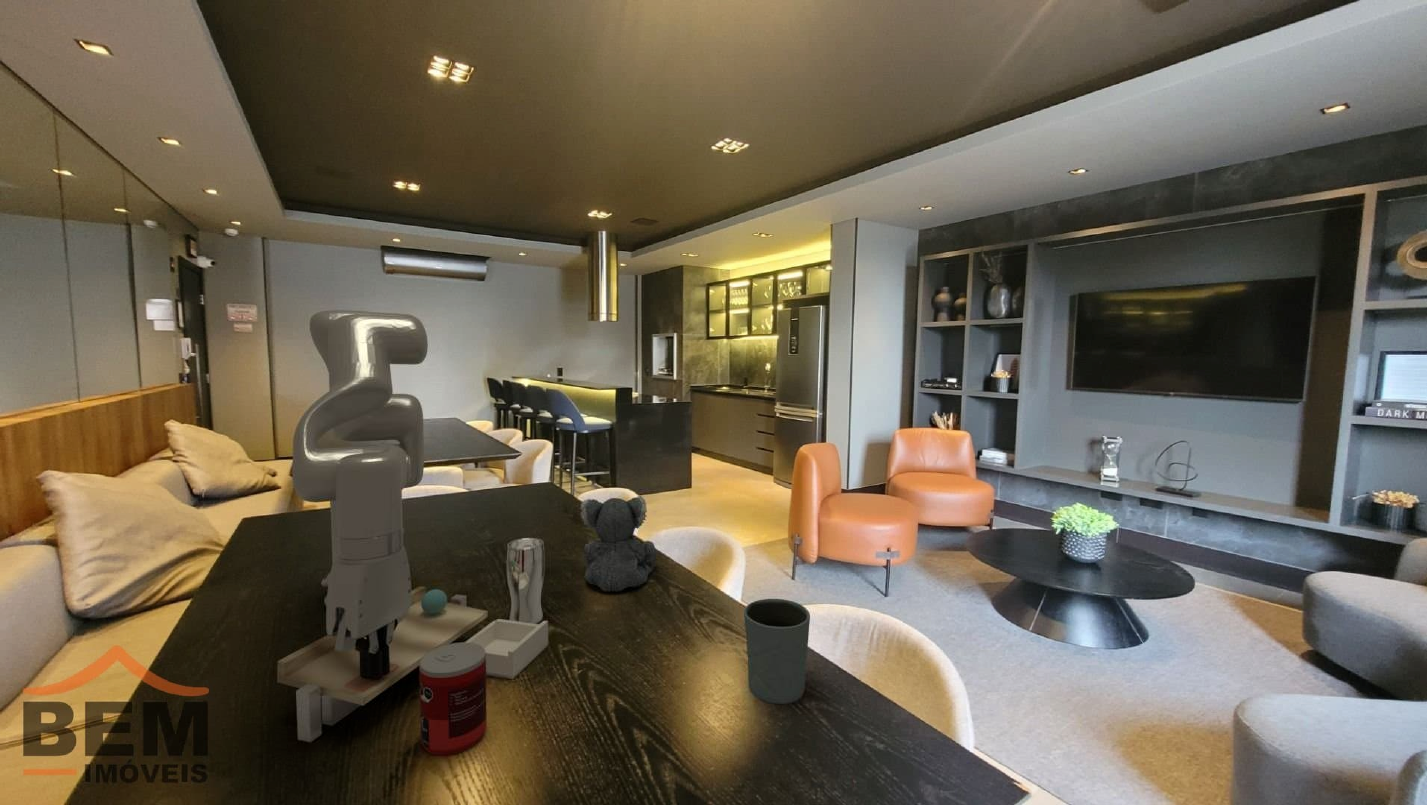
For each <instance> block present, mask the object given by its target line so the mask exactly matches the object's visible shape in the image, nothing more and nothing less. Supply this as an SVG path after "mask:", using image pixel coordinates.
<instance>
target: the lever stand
mask: <svg viewBox="0 0 1427 805" xmlns="http://www.w3.org/2000/svg"><path fill="white" fill-rule="evenodd" d="M450 603H452V604H457V605H461V606H466V607H467V595H463V594H455V595H454V596H451V597H450ZM295 693H296V694H295V698H296V700H295V701H296V702H295V703H296V721H297V722H296V723H297V726H296V727H297V740H298V741H303V742H307V743H312V742H313V741H314V740H316V739H318V738H319V737H320V736H322V733H323V730H322V729H323V728H322V725H327V726H334V725H335V724H337V723H338V722H339V721H341V720H343V719H344V718H346V716H348V715H350V714H351V713H352V712H354V711H355V710H357V709H358V708H359V707H360V706H362V705H359V704H355V703H352V702H348V701H344V700H341V699H337V698H333V697H330V696H326V695H323V696H322V697H320V686H316V685H311V684H307V685H305V686H304V687H302V688H298V689H297V690H295Z"/></svg>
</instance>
